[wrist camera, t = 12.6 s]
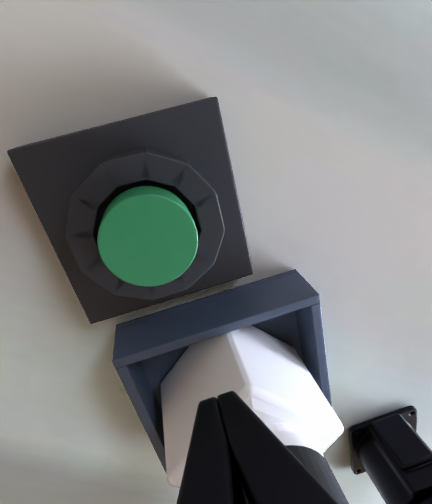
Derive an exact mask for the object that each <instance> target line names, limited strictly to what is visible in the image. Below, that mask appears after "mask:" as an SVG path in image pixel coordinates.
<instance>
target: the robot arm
mask: <svg viewBox="0 0 432 504" xmlns="http://www.w3.org/2000/svg"><path fill="white" fill-rule="evenodd" d="M416 426H417V410H416V409H415V408H414V406H408V407H405V408H402V409H399V410H397V411H394V412H391V413H388V414H386V415H383V416H380V417H377V418H374V419H372V420H369V421H366V422H363V423H361V424H358V425H355V426H353V427H351V428H350V429H349V431H348V432H349V444H350V456H351V467H352V470H353V472H354V474H360V473H363V472H367V474H368V475H369V477H370V478H371V480H372V482H373V483H374V485H375V486H376V488H377V490H378V491H379V493H380V495H381V496H382V498H383V499H384V501H385V503H386V504H432V451H431V449H430V448H429V447H428V446H427V445H426V443H425V442H424V441H423V440H422V439H421V438H420V436H419V435H418V434H417V433H416ZM243 490H244V491H243ZM244 493H245V495H244ZM245 496H246V499H247V502H248V504H339V503H338V502H337V501H336V500H335V499H334V498H333V497H332V496H331V495H330V494H329V492H328V491H327V490H326V489H325V488H324V487H323V486H322V485H321V484H320V483H319V482H318V481H317V480H316V478H315V477H314V476H313V475H312V474H311V473H310V472H309V471H308V470H307V469H306V468H305V467H304V466H303V464H302V463H301V462H300V461H299V460H298V459H297V458H296V457H295V456H294V455H293V454H292V453H291V452H290V450H289V449H288V448H287V447H286V446H285V445H284V444H283V443H282V442H281V441H280V440H279V439H278V438H277V437H276V435H275V434H274V433H273V432H272V431H271V430H270V429H269V428H268V427H267V426H266V425H265V424H264V423H263V421H262V420H261V419H260V418H259V417H258V416H257V415H256V414H255V413H254V412H253V411H252V410H251V409H250V407H249V406H248V405H247V404H246V403H245V402H244V401H243V400H242V399H241V398H240V397H239V396H238V395H237V393H236V392H234V391H229V392H226V393H223V394H220V395H218V396H217V398H216V397H211V398H208V399H205V400H202V401H200V402H199V404H198V407H197V412H196V417H195V421H194V426H193V430H192V435H191V440H190V444H189V449H188V453H187V458H186V463H185V467H184V472H183V476H182V481H181V486H180V490H179V495H178V499H177V504H246V499H245Z"/></svg>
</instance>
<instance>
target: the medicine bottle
mask: <svg viewBox="0 0 432 504" xmlns="http://www.w3.org/2000/svg"><path fill="white" fill-rule="evenodd" d="M160 386H161V401H162V415H163V429H164V443H165V457H166V472H167V480H168V483H169V484H170V485H172V486H175V487H179V488H180V486H181V481H182V476H183V472H184V467H185V463H186V458H187V453H188V449H189V444H190V440H191V435H192V430H193V426H194V421H195V417H196V412H197V407H198V404H199V402H200V401H202V400H205V399H208V398H211V397H216V398H217V396H218V395H220V394H223V393H226V392H229V391H234V392H236V393H237V395H238V396H239V397H240V398H241V399H242V400H243V401H244V402H245V403H246V404H247V405H248V406H249V407H250V409H251V410H252V411H253V412H254V413H255V414H256V415H257V416H258V417H259V418H260V419H261V420H262V421H263V423H264V424H265V425H266V426H267V427H268V428H269V429H270V430H271V431H272V432H273V433H274V434H275V435H276V437H277V438H278V439H279V440H280V441H281V442H282V443H283V444H284V445H285V446H286V447H287V448H288V449H289V450H290V452H291V453H292V454H293V455H294V456H295V457H296V458H297V459H298V460H299V461H300V462H301V463H302V464H303V466H304V467H305V468H306V469H307V470H308V471H309V472H310V473H311V474H312V475H313V476H314V477H315V478H316V480H317V481H318V482H319V483H320V484H321V485H322V486H323V487H324V488H325V489H326V490H327V491H328V492H329V494H330V495H331V496H332V497H333V498H334V499H335V500H336V501H337V502H338V503H339V504H349V503H348V501H347V499H346V497H345V495H344V494H343V492H342V490H341V488H340V486H339V484H338V482H337V480H336V478H335V476H334V474H333V473H332V471H331V469H330V467H329V465H328V463H327V461H326V459H325V457H324V455H323V453H324V452H325V451H326V450H327V449H328V447H329V446H330V445H331V444H332V443H333V442H334V441H335V440H336V439H337V438H338V437H339V436H340V435H341V434H342V433H343V430H344V428H343V425H342V423H341V421H340V420H339V418H338V417H337V415H336V413H335V412H334V410H333V409H332V407H331V406H330V404H329V402H328V401H327V399H326V398H325V396H324V395H323V393H322V391H321V390H320V388H319V387H318V385H317V383H316V382H315V380H314V379H313V377H312V376H311V374H310V372H309V371H308V369H307V368H306V366H305V364H304V363H303V361H302V360H301V358H300V357H299V355H298V353H297V352H296V350H295V349H294V348H293V347H292V346H290V345H288V344H286V343H284V342H282V341H281V340H279V339H277V338H275V337H273V336H271V335H269V334H267V333H265V332H263V331H262V330H260V329H258V328H256V327H254V326H252V325H250V326H246V327H243V328H240V329H237V330H234V331H231V332H228V333H225V334H222V335H219V336H216V337H213V338H209V339H206V340H203V341H200V342H197V343H194V344H191V345H189V347H188V348H187V349H186V351H185V352H184V353H183V355H182V356H181V357H180V358H179V360H178V361H177V362H176V364H175V365H174V366H173V367H172V369H171V370H170V371H169V373H168V374H167V375H166V377H165V378H164V379H163V380H162V382H161V385H160ZM243 491H244V490H243ZM244 495H245V493H244ZM245 499H246V496H245ZM246 504H248V502H247V499H246Z"/></svg>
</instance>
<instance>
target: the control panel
mask: <svg viewBox="0 0 432 504" xmlns="http://www.w3.org/2000/svg"><path fill="white" fill-rule="evenodd" d="M7 153H8V155H9V157H10V159H11V161H12V163H13V165H14V167H15V169H16V172H17V174H18V176H19V178H20V180H21V182H22V184H23V186H24V188H25V190H26V192H27V194H28V196H29V198H30V200H31V202H32V204H33V206H34V208H35V211H36V213H37V215H38V217H39V219H40V221H41V223H42V225H43V227H44V229H45V231H46V233H47V235H48V237H49V239H50V241H51V243H52V245H53V247H54V250H55V252H56V254H57V256H58V258H59V260H60V262H61V264H62V266H63V268H64V270H65V272H66V274H67V276H68V278H69V280H70V282H71V284H72V286H73V289H74V291H75V293H76V295H77V297H78V299H79V301H80V303H81V305H82V307H83V309H84V311H85V313H86V315H87V317H88V319H89V321H90V323H91V324H93V323H96V322H99V321H102V320H106V319H109V318H112V317H115V316H119V315H122V314H125V313H128V312H132V311H135V310H138V309H141V308H144V307H148V306H151V305H154V304H157V303H161V302H164V301H167V300H170V299H173V298H177V297H180V296H183V295H186V294H190V293H193V292H196V291H199V290H202V289H206V288H209V287H212V286H215V285H219V284H222V283H225V282H228V281H232V280H235V279H238V278H241V277H244V276H248V275H251V274H253V268H252V263H251V258H250V253H249V248H248V244H247V239H246V234H245V229H244V224H243V219H242V215H241V210H240V205H239V200H238V195H237V190H236V186H235V181H234V176H233V171H232V166H231V161H230V157H229V152H228V147H227V142H226V137H225V132H224V128H223V123H222V118H221V113H220V108H219V103H218V99H217V97H210V98H206V99H202V100H198V101H194V102H190V103H187V104H183V105H179V106H175V107H171V108H167V109H163V110H159V111H156V112H152V113H148V114H144V115H140V116H136V117H132V118H128V119H125V120H121V121H117V122H113V123H109V124H105V125H101V126H97V127H93V128H90V129H86V130H82V131H78V132H74V133H70V134H66V135H62V136H59V137H55V138H51V139H47V140H43V141H39V142H35V143H31V144H28V145H24V146H20V147H16V148H13V149H10V150H8V151H7ZM139 186H154V187H159V188H163V189H165V190H168V191H170V192H172V193H173V194H175V195H176V196H177V197H178V198H180V199H181V200H182V201H183V203H184V204H185V205H186V207H187V208H188V210H189V212H190V214H191V216H192V218H193V220H194V223H195V225H196V228H197V233H198V248H197V252H196V255H195V258H194V259H193V261H192V263H191V265H190V266H189V267H188V268H187V270H186V271H185V272H184V273H183V274H181V275H180V276H179V277H177V278H176V279H174V280H172V281H170V282H168V283H165V284H162V285H158V286H138V285H133V284H130V283H127V282H125V281H123V280H121V279H120V278H118V277H116V276H115V275H114V274H113V273H112V272H111V271H110V270H109V269H108V268H107V267H106V265H105V264H104V263H103V261H102V259H101V257H100V254H99V250H98V245H97V236H98V230H99V226H100V223H101V221H102V218H103V215H104V212H105V210H106V208H107V207H108V205H109V204H110V203H111V201H112V200H113V199H114V198H115V197H117V196H118V195H119V194H121V193H122V192H124V191H126V190H128V189H131V188H134V187H139Z"/></svg>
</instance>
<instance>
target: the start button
mask: <svg viewBox="0 0 432 504" xmlns="http://www.w3.org/2000/svg"><path fill="white" fill-rule="evenodd" d="M97 245H98V250H99V254H100V257H101V259H102V261H103V263H104V264H105V265H106V267H107V268H108V269H109V270H110V271H111V272H112V273H113V274H114V275H115V276H116V277H118V278H120V279H121V280H123V281H125V282H127V283H130V284H133V285H138V286H158V285H162V284H165V283H168V282H170V281H172V280H174V279H176V278H177V277H179V276H180V275H181V274H183V273H184V272H185V271H186V270H187V268H188V267H189V266H190V265H191V263H192V261H193V259H194V258H195V255H196V252H197V248H198V233H197V228H196V225H195V223H194V220H193V218H192V216H191V214H190V212H189V210H188V208H187V207H186V205H185V204H184V203H183V201H182V200H181V199H180V198H178V197H177V196H176V195H175V194H173V193H172V192H170V191H168V190H165V189H163V188H159V187H154V186H139V187H134V188H131V189H128V190H126V191H124V192H122V193H121V194H119V195H118V196H117V197H115V198H114V199H113V200H112V201H111V203H110V204H109V205H108V207H107V208H106V210H105V212H104V215H103V218H102V221H101V223H100V226H99V230H98V236H97Z"/></svg>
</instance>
